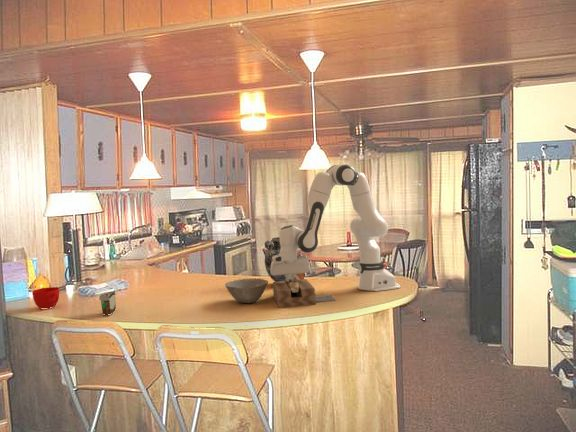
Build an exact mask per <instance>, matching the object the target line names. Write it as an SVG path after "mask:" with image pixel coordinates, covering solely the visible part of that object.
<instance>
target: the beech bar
mask: <svg viewBox="0 0 576 432" xmlns="http://www.w3.org/2000/svg"><path fill="white" fill-rule="evenodd" d="M288 287H289V289H290V290H291V291H292V290H299V284H298V282H290V283H289V284H288Z"/></svg>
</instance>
